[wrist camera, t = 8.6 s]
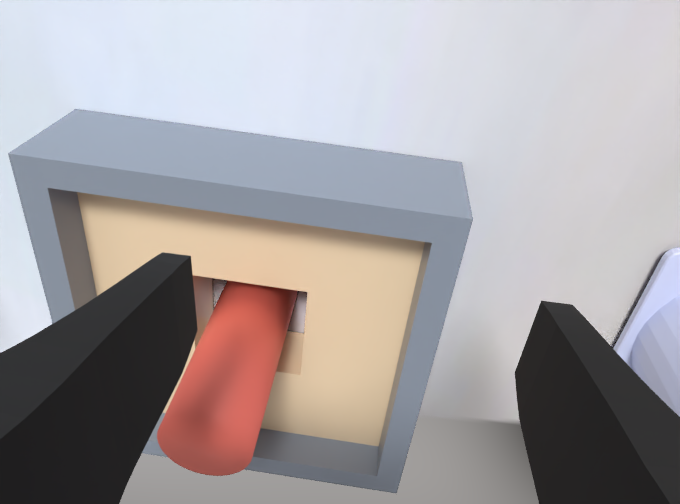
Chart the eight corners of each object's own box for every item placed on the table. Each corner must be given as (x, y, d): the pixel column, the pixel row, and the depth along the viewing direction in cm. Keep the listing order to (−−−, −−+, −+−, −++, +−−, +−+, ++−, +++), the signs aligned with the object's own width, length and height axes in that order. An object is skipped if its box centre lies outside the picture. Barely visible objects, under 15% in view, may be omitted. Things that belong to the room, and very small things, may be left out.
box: (461, 162, 19) (473, 219, 16) (398, 419, 27) (396, 493, 24) (75, 109, 20) (8, 153, 16) (123, 377, 27) (84, 444, 24)
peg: (299, 265, 22) (253, 422, 16) (295, 319, 24) (251, 482, 17) (228, 254, 23) (152, 405, 16) (228, 309, 24) (161, 467, 18)
